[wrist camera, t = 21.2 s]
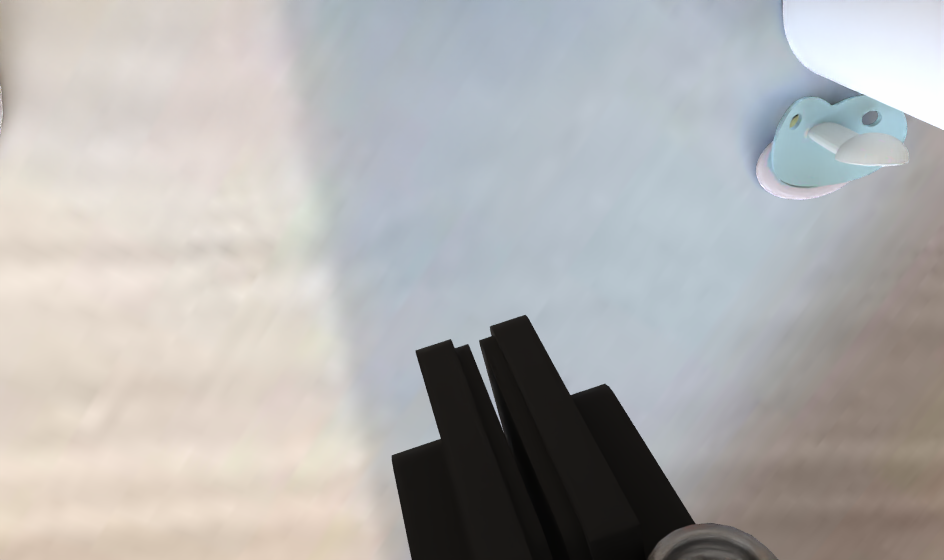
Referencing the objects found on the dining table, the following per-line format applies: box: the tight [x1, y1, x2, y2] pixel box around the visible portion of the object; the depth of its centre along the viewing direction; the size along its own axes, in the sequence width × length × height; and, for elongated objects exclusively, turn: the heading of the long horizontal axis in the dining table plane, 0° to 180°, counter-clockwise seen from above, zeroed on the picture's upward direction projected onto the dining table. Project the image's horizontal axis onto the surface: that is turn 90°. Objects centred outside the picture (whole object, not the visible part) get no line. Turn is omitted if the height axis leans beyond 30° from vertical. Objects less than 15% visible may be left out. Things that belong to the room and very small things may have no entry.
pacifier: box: [756, 95, 909, 200], centre depth 38 cm, size 7×6×6 cm
